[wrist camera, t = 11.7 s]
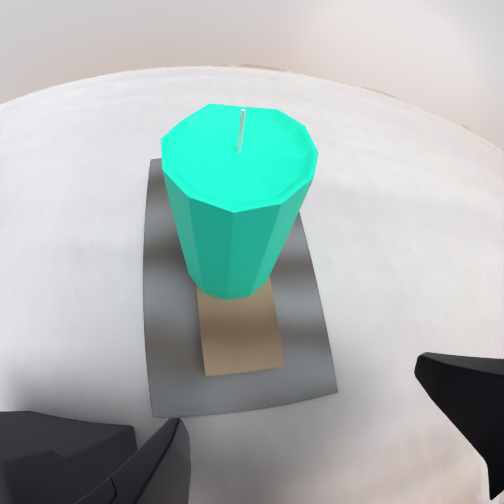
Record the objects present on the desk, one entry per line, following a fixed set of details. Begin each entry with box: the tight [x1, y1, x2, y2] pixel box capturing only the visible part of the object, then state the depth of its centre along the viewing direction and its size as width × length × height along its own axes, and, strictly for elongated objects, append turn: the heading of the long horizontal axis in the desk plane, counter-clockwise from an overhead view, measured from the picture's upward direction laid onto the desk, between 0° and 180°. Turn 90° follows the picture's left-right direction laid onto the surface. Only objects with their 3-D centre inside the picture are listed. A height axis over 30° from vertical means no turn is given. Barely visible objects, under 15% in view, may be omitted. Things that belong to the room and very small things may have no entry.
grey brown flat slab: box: [143, 158, 338, 417], centre depth 21 cm, size 24×14×3 cm, turn 8°
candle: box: [161, 104, 318, 300], centre depth 14 cm, size 6×6×12 cm
